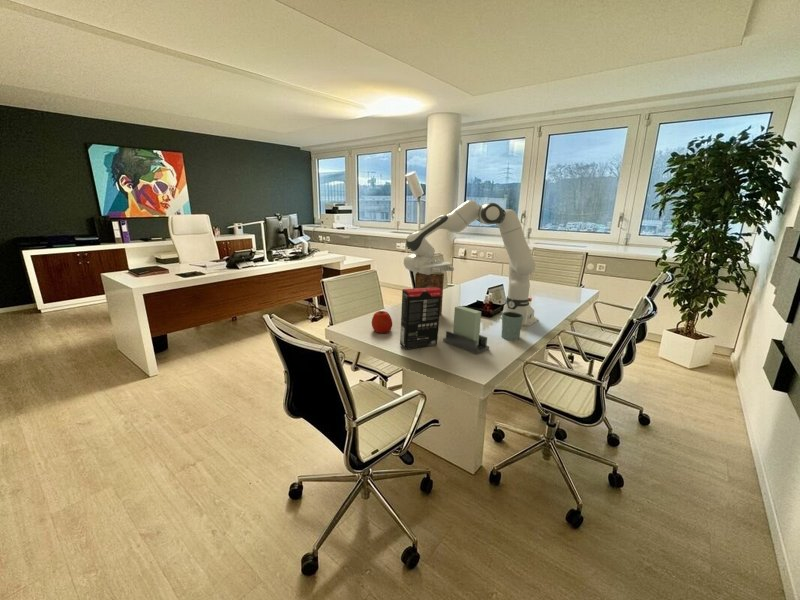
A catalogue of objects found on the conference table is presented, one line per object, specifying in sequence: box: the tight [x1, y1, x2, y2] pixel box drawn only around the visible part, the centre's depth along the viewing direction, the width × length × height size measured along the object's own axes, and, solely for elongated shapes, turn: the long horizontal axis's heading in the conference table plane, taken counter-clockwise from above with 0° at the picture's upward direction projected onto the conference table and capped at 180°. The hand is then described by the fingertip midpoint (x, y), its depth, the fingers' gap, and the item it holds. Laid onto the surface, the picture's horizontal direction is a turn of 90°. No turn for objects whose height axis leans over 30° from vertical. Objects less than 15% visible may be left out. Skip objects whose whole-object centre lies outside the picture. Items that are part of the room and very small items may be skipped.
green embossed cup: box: [501, 312, 523, 341], centre depth 170 cm, size 10×10×12 cm
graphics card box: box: [399, 287, 441, 350], centre depth 155 cm, size 17×7×27 cm, turn 114°
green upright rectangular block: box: [452, 305, 482, 345], centre depth 158 cm, size 4×12×16 cm, turn 41°
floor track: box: [442, 330, 490, 355], centre depth 159 cm, size 9×20×6 cm, turn 40°
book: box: [414, 272, 445, 317], centre depth 203 cm, size 16×6×25 cm, turn 80°
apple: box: [371, 310, 393, 334], centre depth 175 cm, size 11×11×11 cm
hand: (446, 270), depth 170 cm, fingers open, 8 cm apart
